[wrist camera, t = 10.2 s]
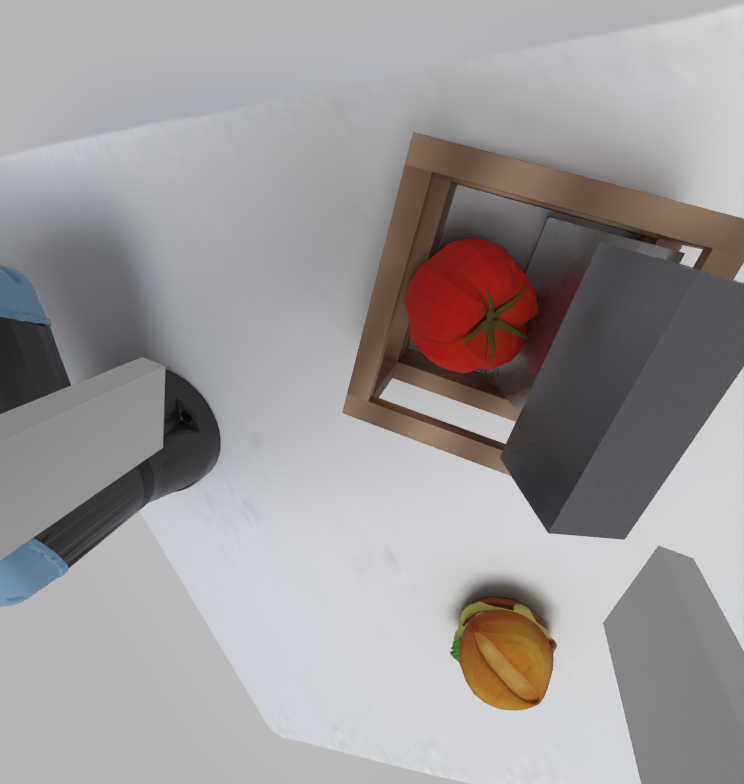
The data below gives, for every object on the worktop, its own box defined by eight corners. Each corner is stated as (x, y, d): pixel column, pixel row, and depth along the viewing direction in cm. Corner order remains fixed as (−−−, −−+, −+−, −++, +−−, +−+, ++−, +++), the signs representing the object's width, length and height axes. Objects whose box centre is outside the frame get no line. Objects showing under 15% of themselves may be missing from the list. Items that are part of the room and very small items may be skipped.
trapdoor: (834, 293, 16) (707, 256, 14) (647, 549, 21) (543, 541, 20) (559, 220, 32) (488, 200, 31) (495, 374, 38) (433, 363, 37)
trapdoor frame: (387, 357, 41) (342, 412, 30) (444, 158, 33) (413, 131, 22) (568, 420, 38) (593, 506, 27) (674, 219, 31) (767, 224, 20)
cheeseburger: (449, 645, 52) (439, 715, 43) (465, 564, 50) (458, 619, 41) (537, 673, 50) (548, 754, 40) (557, 590, 48) (573, 654, 38)
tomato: (475, 338, 39) (533, 379, 33) (385, 347, 35) (432, 395, 30) (501, 228, 34) (574, 254, 28) (400, 226, 30) (460, 255, 25)
